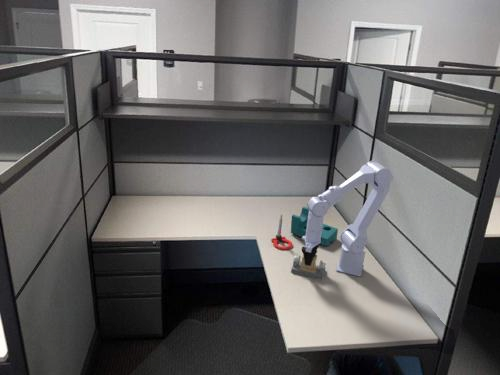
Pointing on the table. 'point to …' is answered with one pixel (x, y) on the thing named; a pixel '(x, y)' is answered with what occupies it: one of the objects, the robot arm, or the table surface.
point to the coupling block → (310, 265)
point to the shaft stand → (316, 273)
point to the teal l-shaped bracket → (301, 225)
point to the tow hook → (281, 238)
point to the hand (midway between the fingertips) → (309, 260)
